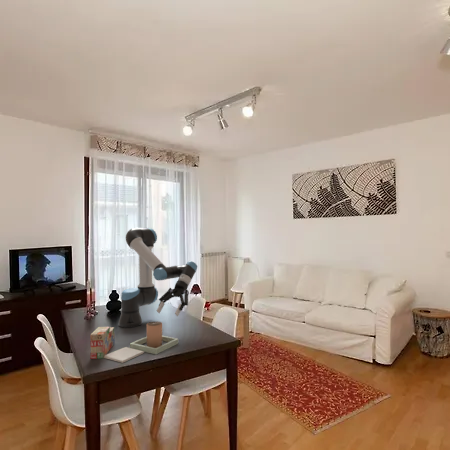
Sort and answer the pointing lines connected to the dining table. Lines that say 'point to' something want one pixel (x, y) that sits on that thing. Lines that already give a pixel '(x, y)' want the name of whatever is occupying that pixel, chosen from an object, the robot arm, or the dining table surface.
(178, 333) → the dining table surface
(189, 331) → the dining table surface
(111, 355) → the ceramic tile
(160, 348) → the frame
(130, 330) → the dining table surface
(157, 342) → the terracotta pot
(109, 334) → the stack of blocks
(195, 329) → the dining table surface
